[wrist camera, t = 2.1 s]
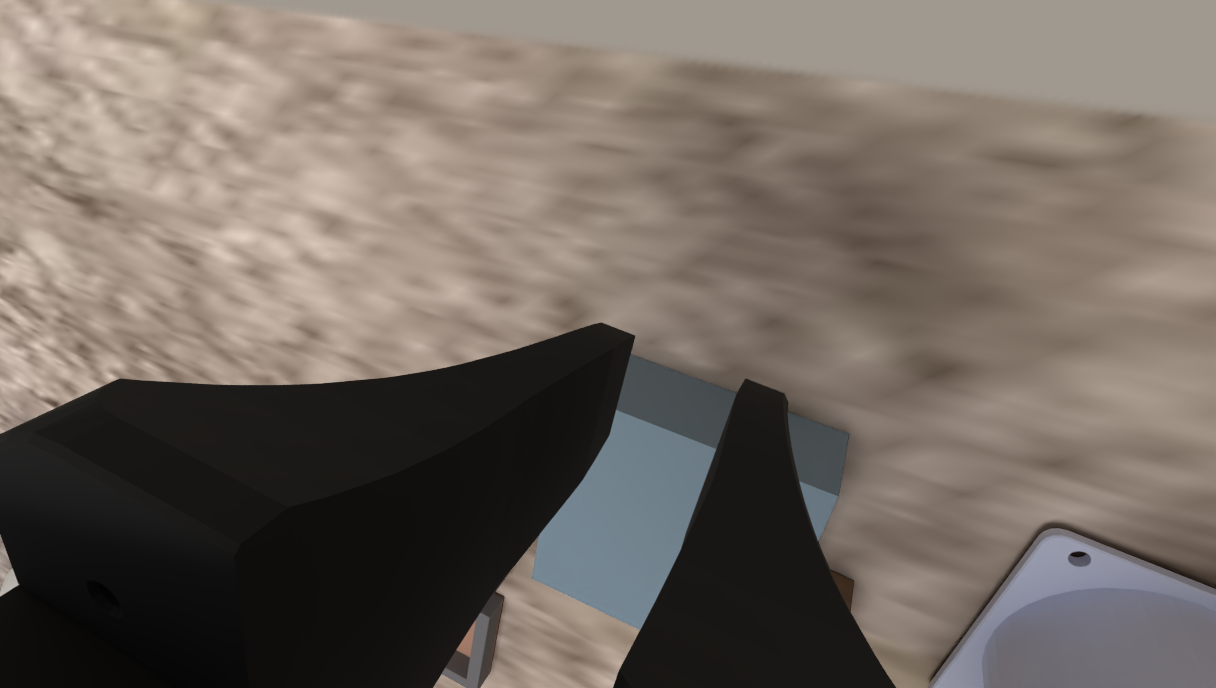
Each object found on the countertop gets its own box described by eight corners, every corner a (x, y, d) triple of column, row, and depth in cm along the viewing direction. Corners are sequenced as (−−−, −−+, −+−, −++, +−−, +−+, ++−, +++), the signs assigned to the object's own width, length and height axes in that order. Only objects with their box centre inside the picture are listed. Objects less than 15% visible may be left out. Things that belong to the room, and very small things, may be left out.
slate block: (850, 428, 21) (838, 496, 18) (773, 603, 24) (753, 683, 22) (609, 341, 23) (563, 389, 20) (574, 516, 26) (531, 578, 24)
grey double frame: (526, 478, 26) (510, 496, 25) (489, 672, 32) (476, 693, 31) (407, 423, 27) (388, 438, 26) (394, 620, 34) (378, 638, 33)
